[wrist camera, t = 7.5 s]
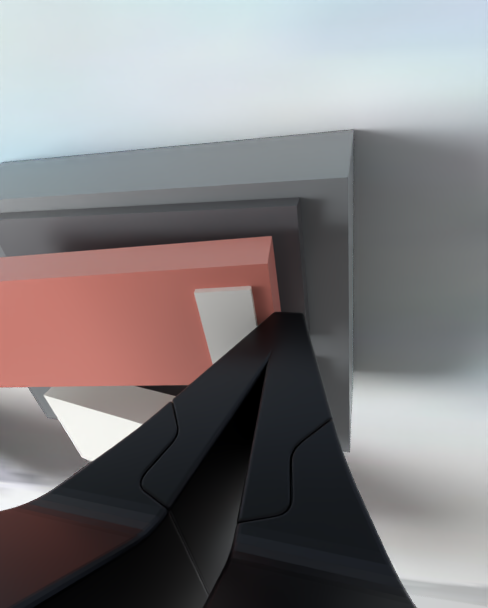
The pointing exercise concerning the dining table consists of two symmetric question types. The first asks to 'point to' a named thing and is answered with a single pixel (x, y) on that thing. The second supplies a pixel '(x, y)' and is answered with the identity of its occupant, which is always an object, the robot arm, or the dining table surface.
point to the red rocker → (131, 312)
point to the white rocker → (103, 414)
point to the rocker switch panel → (209, 223)
